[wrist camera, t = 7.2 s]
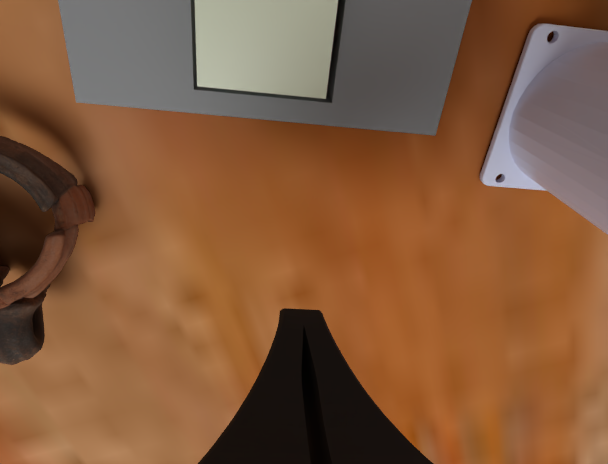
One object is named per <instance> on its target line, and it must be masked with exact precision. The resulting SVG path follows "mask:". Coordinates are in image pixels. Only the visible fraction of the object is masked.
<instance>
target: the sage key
mask: <svg viewBox="0 0 608 464" xmlns="http://www.w3.org/2000/svg"><path fill="white" fill-rule="evenodd" d="M337 6H338V0H195V29H196V64H197V86H199V87H209V88H219V89H230V90H240V91H250V92H260V93H270V94H281V95H291V96H301V97H311V98H321V99H326V93H327V85H328V77H329V69H330V61H331V53H332V45H333V37H334V30H335V22H336V14H337Z"/></svg>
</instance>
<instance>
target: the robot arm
mask: <svg viewBox="0 0 608 464" xmlns="http://www.w3.org/2000/svg"><path fill="white" fill-rule="evenodd" d="M552 31H553V33H554V36H553V38H552V40H551V41H550V42H548V41H547V36H548V35H549V33H550V32H552ZM499 174H502V176H501V178H500V179H498V180H495V179H496V177H497V176H498V175H499ZM480 180H481V181H482V182H483V183H484V184H485V185H487V186H497V187H510V188H522V189H534V190H546V191H548V192H550V193H551V194H552V195H554V196H555V197H557V198H558V199H559V200H561V201H562V202H563V203H565V204H566V205H568V206H569V207H570V208H572V209H573V210H574V211H576V212H577V213H579V214H580V215H581V216H583V217H584V218H585V219H587V220H588V221H590V222H591V223H592V224H594V225H595V226H597V227H598V228H599V229H601V230H602V231H603V232H605V233H606V234H608V31H603V30H595V29H587V28H579V27H570V26H562V25H554V24H545V23H541V24H537V25H535V26H534V27H533V28H532V29H531V30H530V32H529V34H528V37H527V39H526V42H525V45H524V48H523V51H522V54H521V57H520V60H519V63H518V66H517V69H516V72H515V74H514V77H513V80H512V83H511V86H510V89H509V92H508V95H507V98H506V101H505V104H504V107H503V109H502V112H501V115H500V118H499V121H498V124H497V127H496V130H495V133H494V136H493V139H492V141H491V144H490V147H489V150H488V153H487V156H486V159H485V162H484V165H483V168H482V171H481V174H480ZM198 464H433V463H432V462H431V461H430V460H428V459H427V458H426V457H425V456H424V455H423V454H422V453H421V452H420V451H419V450H418V449H416V448H415V447H414V446H413V445H412V444H411V443H410V442H409V441H408V440H407V439H406V438H405V437H404V435H403V434H402V433H401V432H400V431H399V430H398V429H397V428H396V427H395V426H394V425H393V424H392V423H391V422H390V420H389V419H388V418H387V417H386V416H385V415H384V414H383V412H382V411H381V410H380V409H379V408H378V406H377V405H376V404H375V403H374V401H373V400H372V399H371V397H370V396H369V395H368V394H367V392H366V391H365V389H364V388H363V387H362V385H361V384H360V382H359V381H358V379H357V378H356V376H355V375H354V373H353V372H352V370H351V369H350V367H349V366H348V364H347V362H346V361H345V359H344V357H343V355H342V354H341V352H340V350H339V348H338V347H337V345H336V343H335V341H334V339H333V337H332V335H331V333H330V331H329V329H328V327H327V324H326V322H325V320H324V317H323V314H322V313H321V311H320V310H304V309H282V310H281V311H280V317H279V324H278V328H277V331H276V335H275V338H274V341H273V343H272V346H271V349H270V351H269V354H268V356H267V359H266V361H265V363H264V365H263V367H262V369H261V371H260V373H259V376H258V377H257V379H256V381H255V383H254V385H253V387H252V389H251V390H250V392H249V394H248V396H247V397H246V399H245V401H244V402H243V404H242V405H241V407H240V408H239V410H238V412H237V413H236V415H235V416H234V418H233V419H232V421H231V422H230V424H229V425H228V426H227V428H226V429H225V430H224V432H223V433H222V434H221V436H220V437H219V438H218V440H217V441H216V442H215V444H214V445H213V446H212V447H211V449H210V450H209V451H208V452H207V454H206V455H205V456H204V457H203V458H202V459H201V461H200V462H199V463H198Z"/></svg>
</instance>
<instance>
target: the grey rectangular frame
mask: <svg viewBox="0 0 608 464" xmlns="http://www.w3.org/2000/svg"><path fill="white" fill-rule="evenodd" d="M58 2H59V8H60V13H61V19H62V25H63V30H64V36H65V42H66V48H67V53H68V59H69V65H70V70H71V76H72V82H73V87H74V93H75V99H76V102H79V103H89V104H100V105H111V106H122V107H133V108H144V109H154V110H165V111H176V112H187V113H198V114H208V115H219V116H230V117H241V118H252V119H263V120H273V121H284V122H295V123H306V124H317V125H327V126H338V127H349V128H360V129H371V130H382V131H392V132H403V133H414V134H425V135H436V132H437V128H438V124H439V121H440V117H441V113H442V109H443V106H444V102H445V98H446V95H447V91H448V87H449V83H450V80H451V76H452V72H453V69H454V65H455V61H456V58H457V54H458V50H459V46H460V43H461V39H462V35H463V32H464V28H465V24H466V20H467V17H468V13H469V9H470V6H471V2H472V0H338V8H337V16H336V24H335V32H334V40H333V48H332V56H331V64H330V72H329V80H328V88H327V93H326V99H321V98H311V97H301V96H291V95H281V94H270V93H260V92H250V91H240V90H230V89H219V88H209V87H199V86H197V64H196V29H195V0H58Z"/></svg>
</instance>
